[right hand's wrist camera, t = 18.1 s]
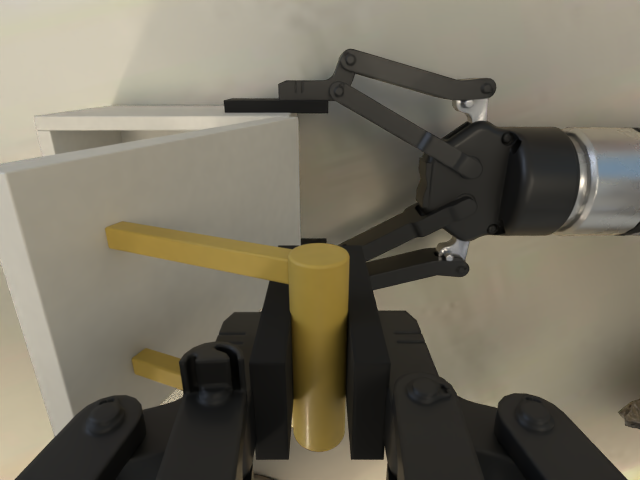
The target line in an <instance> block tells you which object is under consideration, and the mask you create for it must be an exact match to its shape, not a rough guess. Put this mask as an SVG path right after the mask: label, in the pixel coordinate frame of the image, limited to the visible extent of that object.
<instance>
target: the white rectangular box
mask: <svg viewBox="0 0 640 480" xmlns="http://www.w3.org/2000/svg"><path fill="white" fill-rule="evenodd" d="M278 245H299V246H298V247H296V248H294V249H287V248H281V247H278ZM349 259H350V256H349V254H348V252H347V251H346V250H345V249H344V248H342V247H340V246H337V245H333V244H327V243H311V244H305V245H301V229H300V176H299V123H298V117H280V116H279V117H273V118H267V119H261V120H255V121H249V122H243V123H238V124H232V125H226V126H220V127H214V128H208V129H202V130H196V131H191V132H185V133H179V134H173V135H167V136H161V137H155V138H149V139H144V140H138V141H132V142H126V143H120V144H114V145H108V146H102V147H96V148H91V149H85V150H79V151H73V152H67V153H61V154H55V155H49V156H44V157H38V158H32V159H26V160H20V161H14V162H8V163H2V164H0V262H1V265H2V268H3V271H4V275H5V278H6V281H7V284H8V288H9V291H10V294H11V297H12V300H13V304H14V307H15V310H16V313H17V317H18V320H19V323H20V326H21V329H22V333H23V336H24V339H25V342H26V346H27V349H28V352H29V355H30V358H31V362H32V365H33V368H34V371H35V375H36V378H37V381H38V384H39V388H40V391H41V394H42V397H43V400H44V404H45V407H46V410H47V413H48V417H49V420H50V423H51V426H52V429H53V433H54V436H56V435H57V434H58V433H59V432H60V431H61V430H62V429H63V428H64V427H65V426H66V425H67V424H68V423H69V422H70V421H71V419H72V418H73V417H74V416H75V415H76V414H77V413H79V412H80V411H81V410H82V409H84V408H85V407H86V406H87V405H89V404H91V403H93V402H95V401H97V400H99V399H102V398H106V397H110V396H113V395H128V396H131V397H134V398H136V399H137V400H138V401H139V402H140V403H141V405H142V410H144V409H148V408H152V407H156V406H159V405H160V404H161V403H162V402H163V401H164V400H165V399H167V398H168V397H169V396H170V395H171V394H172V393H173V392H174V391H175V390H176V389H180V390H183V387H182V380H181V373H180V367H179V361H180V359H181V358H182V356H183V355H184V354H185V353H186V352H188V351H189V350H190V349H192V348H193V347H196V346H198V345H201V344H204V343H208V342H215V341H216V339H217V336H218V335H219V331H220V329H221V326H222V324H223V321H225V320H226V319H227V318H228V317H229V316H230V315H231V314H232V313H234V312H259V311H260V310H261V309H262V308H263V304H264V300H265V296H266V292H267V288H268V284H269V281H274V282H279V283H284V284H289V304H290V313H291V327H292V361H293V395H294V400H293V413H292V425H291V427H292V428H293V431H294V436H295V438H296V440H297V442H298V443H299V444H300V445H301V446H302V447H304V448H306V449H308V450H311V451H315V452H323V451H327V450H330V449H333V448H334V447H336V446H337V445H338V444H339V443H340V442H341V440H342V439H343V437H344V433H345V402H346V367H347V331H348V295H349Z"/></svg>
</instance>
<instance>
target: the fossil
mask: <svg viewBox="0 0 640 480" xmlns="http://www.w3.org/2000/svg"><path fill="white" fill-rule="evenodd" d="M618 413H619V414H620V415H621V416H622V417H623V418H625V426H628V427H632V428H638V429H640V399H638V400H635V401H632V402H630V403H629V404H628V405H627V406H625V407H624V408H623V409H622V410H620V411H619V412H618Z"/></svg>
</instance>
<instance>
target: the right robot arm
mask: <svg viewBox="0 0 640 480" xmlns="http://www.w3.org/2000/svg"><path fill="white" fill-rule="evenodd" d="M298 246H299V245H278V247H281V248H287V249H294V248H296V247H298ZM340 247H342V248H344V249H345V250H346V251H347V252H348V254H349V256H350V259H349V295H348V331H347V367H346V404H347V416H348V428H349V440H350V453H351V460H384V447H385V450H386V456H387V461H388V463H387V476H386V480H627V479H626V477H625V476H624V475H623V474H622V473H621V472H620V471H619V470H618V469H617V468H616V467H615V466H614V465H613V464H612V463H611V462H610V461H609V460H608V459H607V458H606V456H605V455H604V454H603V453H602V452H601V451H600V450H599V449H598V448H597V447H596V446H595V445H594V444H593V443H592V442H591V441H590V440H589V439H588V438H587V436H586V435H585V434H584V433H583V432H582V431H581V430H580V429H579V428H578V427H577V426H576V425H575V424H574V423H573V422H572V421H571V420H570V419H569V418H568V416H567V415H566V414H565V413H564V412H562V411H561V410H560V409H559V408H557V407H556V406H555V405H554V404H552V403H550V402H548V401H546V400H544V399H542V398H540V397H537V396H533V395H529V394H518V393H514V394H510V395H507V396H504V397H503V398H502V399H501V401H500V402H499V403H498V408H495V407H490V406H486V405H482V404H478V403H474V402H471V401H468V400H465V399H463V398H461V397H459V396H457V394H456V392H455V390H454V389H453V387H452V385H451V384H449V383H448V382H447V381H446V380H444V379H443V378H441V377H439V375H438V373H437V370H436V368H435V365H434V363H433V360H432V358H431V355H430V353H429V350H428V348H427V345H426V343H425V340H424V338H423V335H422V334H421V330H420V328H419V325H418V323H417V320H416V319H414V318H413V317H412V316H411V315H410V314H409V313H408V312H406V311H378V310H377V306H376V302H375V298H374V294H373V290H372V285H371V281H370V277H369V273H368V269H367V265H366V261H365V257H364V253H363V249H362V245H340ZM179 367H180V373H181V380H182V387H183V393H184V394H183V397H182V398H180V399H178V400H176V401H174V402H171V403H168V404H165V405H160V406H156V407H152V408H148V409H144V410H142V405H141V403H140V402H139V401H138V400H137V399H136V398H134V397H131V396H128V395H113V396H110V397H106V398H102V399H99V400H97V401H95V402H93V403H91V404H89V405H87V406H86V407H85V408H84V409H82V410H81V411H80V412H79V413H77V414H76V415H75V416H74V417H73V418H72V419H71V421H70V422H69V423H68V424H67V425H66V426H65V427H64V428H63V429H62V430H61V431H60V432H59V433H58V434H57V435H56V436H55V437H54V439H53V440H52V441H51V442H50V443H49V444H48V445H47V446H46V447H45V448H44V449H43V450H42V451H41V452H40V453H39V454H38V455H37V456H36V458H35V459H34V460H33V461H32V462H31V463H30V464H29V465H28V466H27V467H26V468H25V469H24V470H23V471H22V472H21V473H20V474H19V476H18V477H17V478H16V479H15V480H254V476H253V463H252V462H253V456H254V450H255V451H256V460H289V449H290V437H291V425H292V413H293V400H294V395H293V361H292V327H291V313H290V304H289V284H284V283H279V282H274V281H269V284H268V288H267V292H266V296H265V300H264V304H263V308H262V312H234V313H232V314H231V315H230V316H229V317H228V318H227V319H226V320H225V321H223V324H222V326H221V329H220V331H219V335H218V336H217V339H216V341H215V342H208V343H204V344H201V345H198V346H196V347H193V348H192V349H190V350H189V351H188V352H186V353H185V354H184V355H183V356H182V358H181V359H180V361H179Z"/></svg>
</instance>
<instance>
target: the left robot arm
mask: <svg viewBox="0 0 640 480" xmlns="http://www.w3.org/2000/svg"><path fill="white" fill-rule="evenodd" d="M355 74H358V75H362V76H365V77H369V78H372V79H376V80H379V81H382V82H386V83H389V84H393V85H396V86H400V87H403V88H407V89H410V90H413V91H417V92H420V93H424V94H427V95H431V96H434V97H438V98H443V99H449V100H452V106H453V108H454V109H455V110H456V111H459V112H463V113H465V114H466V116H467V119H468V121H467V122H465V123H464V124H462V125H461V126H459V127H458V128H456V129H455V130H454V131H452V132H451V133H449V134H448V135H446V136H445V137H443V138H442V139H439V138H438V137H436V136H434V135H433V134H431V133H429V132H427V131H426V130H424V129H422V128H420V127H419V126H417V125H415V124H414V123H412V122H410V121H409V120H407V119H405V118H404V117H402V116H400V115H398V114H397V113H395V112H393V111H392V110H390V109H388V108H387V107H385V106H383V105H382V104H380V103H378V102H376V101H375V100H373V99H371V98H370V97H368V96H366V95H365V94H363V93H361V92H360V91H358V90H356V89H355V88H353V87H351V84H352V81H353V78H354V75H355ZM278 87H279V99H252V98H232V99H228V100H224V109H225V113H328V101H337V102H338V103H340V104H342V105H343V106H345V107H347V108H349V109H350V110H352V111H354V112H356V113H357V114H359V115H361V116H362V117H364V118H366V119H368V120H369V121H371V122H373V123H375V124H376V125H378V126H380V127H381V128H383V129H385V130H387V131H388V132H390V133H392V134H393V135H395V136H397V137H399V138H400V139H402V140H404V141H406V142H407V143H409V144H411V145H412V146H414V147H416V148H418V149H419V150H421V151H422V152H424V154H423V156H422V158H420V160H419V173H420V178H421V179H420V182H419V185H418V188H417V194H416V200H417V202H418V203H416V204H414V205H412V206H410V207H408V208H407V209H405V211H404V212H403V213H401V214H399V215H397V216H395V217H393V218H391V219H389V220H387V221H385V222H383V223H381V224H379V225H377V226H375V227H373V228H371V229H369V230H367V231H365V232H363V233H361V234H359V235H357V236H355V237H353V238H351V239H349V240H347V241H345V242H343V243H341V244H339V245H337V246H340V245H362V249H363V253H364V257H365V261H368V260H370V259H372V258H375V257H377V256H379V255H381V254H383V253H385V252H387V251H389V250H391V249H393V248H395V247H397V246H399V245H401V244H403V243H405V242H407V241H409V240H411V239H413V238H416V237H424V236H426V235H429V234H431V233H433V232H435V231H437V230H439V229H441V228H443V229H444V230H446V231H447V232H448V233H450V234H451V235H452V238H451V240H449V241H448V242H443V243H439V244H438V245H437V247H436V248H426V249H421V250H416V251H412V252H408V253H404V254H400V255H396V256H391V257H387V258H383V259H379V260H375V261H371V262H366V265H367V269H368V273H369V277H370V281H371V285H372V290H376V289H380V288H384V287H389V286H393V285H397V284H401V283H406V282H410V281H414V280H418V279H423V278H427V277H431V276H436V275H441V276H454V277H463V276H465V275H466V274H467V273H468V272H469V266H468V264H467V263H466V262H465V259H466V255H467V250H468V246H469V242H470V241H472V240H474V239H476V238H478V237H481V236H484V235H501V236H545V235H550V234H552V233H553V234H555V235H559V236H585V235H623V236H624V235H640V128H594V127H567V128H564V129H559V128H556V127H496V126H494V125H493V124H491V123H490V122H488V121H487V116H488V98H490V97H491V96H492V95H493V94H494V93H495V90H496V83H495V82H494V80H492V79H490V78H469V79H459V80H456V79H452V78H449V77H445V76H442V75H439V74H435V73H432V72H429V71H425V70H422V69H418V68H415V67H412V66H408V65H405V64H402V63H398V62H395V61H391V60H388V59H385V58H381V57H378V56H374V55H371V54H368V53H364V52H361V51H358V50H354V49H348V50H345V51H344V52H343V53H342V54H341V55H340V58H339V61H338V64H337V66H336V69H335V72H334V74H333V76H332V77H331V78H329V79H328V80H323V81H296V80H288V81H284V82H282V83H280V84H278ZM311 243H327V241H326V239H301V245H305V244H311ZM253 476H254V480H272V479H270V478H267V477H264V476H260V475H255V474H253Z"/></svg>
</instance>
